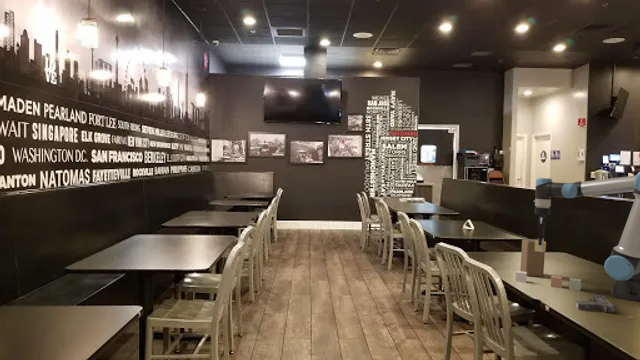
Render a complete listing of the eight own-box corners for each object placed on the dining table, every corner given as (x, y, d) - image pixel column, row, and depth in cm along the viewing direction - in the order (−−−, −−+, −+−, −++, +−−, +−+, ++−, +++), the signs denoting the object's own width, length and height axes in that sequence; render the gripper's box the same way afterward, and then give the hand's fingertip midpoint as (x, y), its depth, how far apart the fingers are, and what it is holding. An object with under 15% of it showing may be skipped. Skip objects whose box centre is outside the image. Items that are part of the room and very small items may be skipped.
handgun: (568, 299, 218) (604, 302, 214) (578, 311, 199) (617, 315, 194) (569, 291, 218) (604, 294, 213) (578, 302, 199) (618, 306, 194)
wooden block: (537, 273, 268) (539, 239, 267) (544, 277, 258) (545, 242, 257) (519, 272, 269) (521, 238, 268) (525, 276, 259) (527, 241, 258)
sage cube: (580, 288, 235) (580, 279, 235) (580, 291, 231) (580, 281, 231) (569, 287, 238) (569, 277, 238) (569, 289, 233) (569, 279, 233)
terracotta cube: (561, 286, 239) (562, 276, 239) (561, 288, 235) (562, 278, 235) (551, 284, 242) (551, 275, 242) (550, 286, 237) (551, 277, 237)
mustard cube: (545, 251, 244) (546, 241, 244) (544, 252, 240) (545, 243, 240) (535, 249, 247) (535, 240, 246) (534, 251, 242) (535, 241, 242)
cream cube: (526, 281, 248) (526, 272, 247) (525, 283, 243) (526, 273, 243) (516, 279, 250) (516, 270, 250) (515, 281, 246) (516, 272, 245)
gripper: (535, 205, 252) (533, 247, 253) (533, 207, 236) (531, 252, 237) (550, 206, 248) (548, 248, 249) (549, 208, 233) (547, 253, 233)
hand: (540, 250), depth 243 cm, fingers closed on mustard cube, 5 cm apart
